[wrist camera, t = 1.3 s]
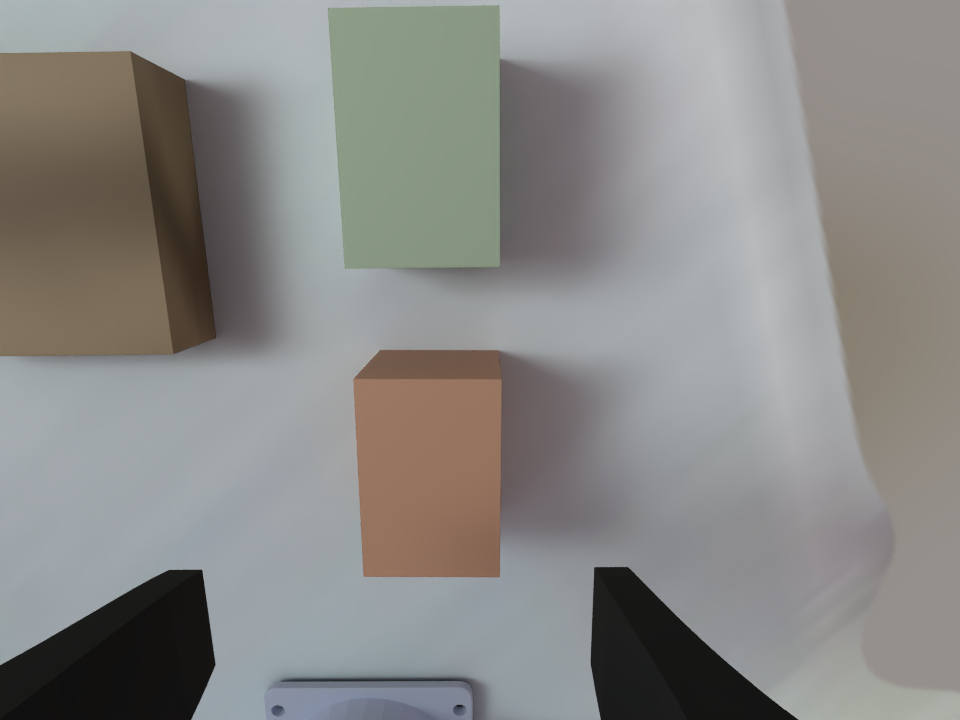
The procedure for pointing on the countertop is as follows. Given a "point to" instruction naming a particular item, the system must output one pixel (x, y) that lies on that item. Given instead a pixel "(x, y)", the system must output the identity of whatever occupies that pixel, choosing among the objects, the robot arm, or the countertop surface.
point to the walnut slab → (98, 209)
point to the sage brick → (418, 135)
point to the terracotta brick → (430, 463)
